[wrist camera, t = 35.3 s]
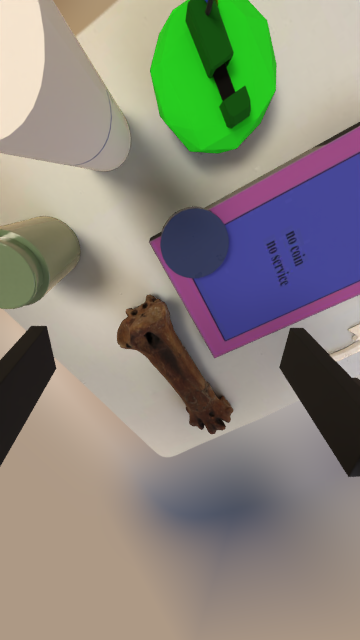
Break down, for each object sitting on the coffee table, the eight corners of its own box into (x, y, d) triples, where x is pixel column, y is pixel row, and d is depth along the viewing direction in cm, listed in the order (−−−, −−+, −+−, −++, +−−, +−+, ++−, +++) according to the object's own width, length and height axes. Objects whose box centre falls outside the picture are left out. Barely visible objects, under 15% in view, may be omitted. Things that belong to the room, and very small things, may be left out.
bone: (202, 457, 47) (104, 339, 33) (192, 420, 54) (109, 310, 40) (246, 435, 46) (166, 305, 32) (230, 401, 54) (159, 282, 39)
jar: (27, 274, 38) (-34, 313, 26) (13, 214, 34) (-65, 230, 22) (83, 275, 38) (48, 315, 27) (76, 217, 34) (31, 234, 23)
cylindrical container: (77, 173, 32) (-116, 152, 10) (61, 100, 29) (-282, -174, 7) (135, 169, 32) (69, 138, 10) (125, 95, 29) (-4, -190, 7)
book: (149, 242, 34) (388, 110, 28) (150, 237, 36) (369, 116, 31) (214, 358, 43) (404, 274, 37) (211, 348, 45) (388, 268, 40)
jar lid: (215, 278, 36) (218, 283, 34) (155, 266, 35) (155, 271, 33) (233, 215, 32) (238, 217, 30) (167, 199, 31) (167, 200, 29)
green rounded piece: (133, 69, 28) (116, 7, 18) (231, -9, 26) (272, -127, 16) (188, 178, 33) (197, 177, 23) (274, 122, 31) (325, 93, 21)
